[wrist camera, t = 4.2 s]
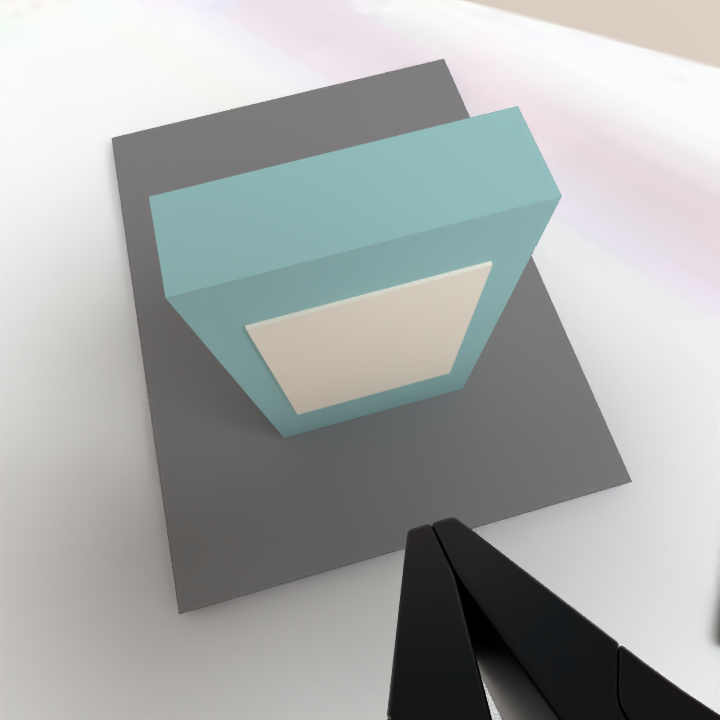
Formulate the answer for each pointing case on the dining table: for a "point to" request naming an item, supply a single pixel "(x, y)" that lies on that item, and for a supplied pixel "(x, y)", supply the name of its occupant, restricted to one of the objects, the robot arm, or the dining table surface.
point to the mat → (356, 436)
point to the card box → (358, 266)
